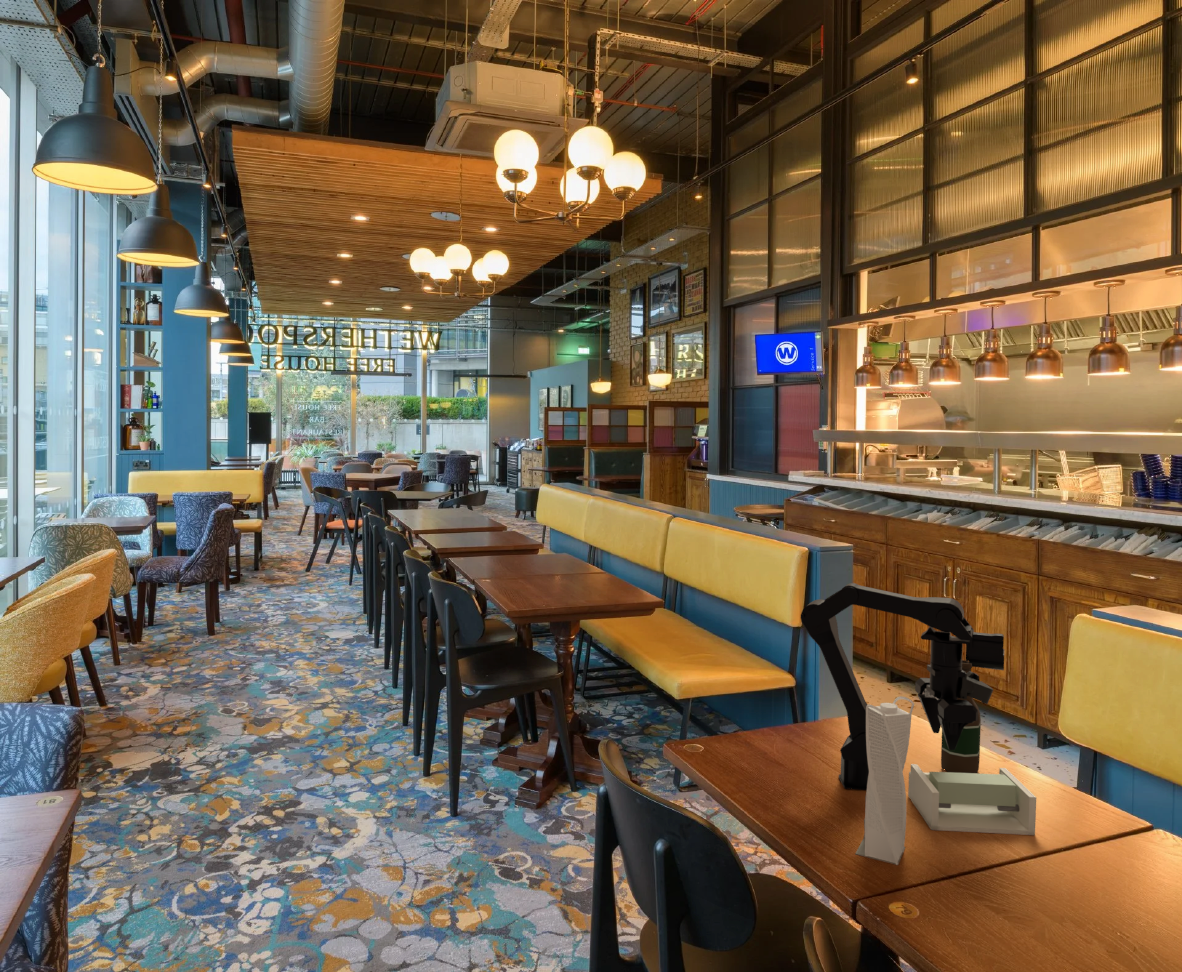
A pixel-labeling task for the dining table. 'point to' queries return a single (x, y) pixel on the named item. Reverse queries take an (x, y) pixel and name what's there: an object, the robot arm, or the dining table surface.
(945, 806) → the tray
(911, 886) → the dining table surface
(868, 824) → the skyscraper
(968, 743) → the beer bottle
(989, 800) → the shelf board
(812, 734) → the dining table surface
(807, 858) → the dining table surface
